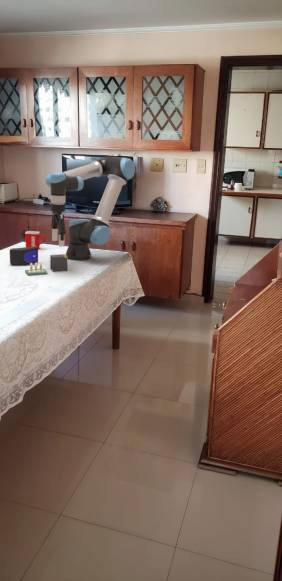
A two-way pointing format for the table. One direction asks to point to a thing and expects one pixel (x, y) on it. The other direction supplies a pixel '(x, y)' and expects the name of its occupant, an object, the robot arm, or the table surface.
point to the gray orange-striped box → (58, 263)
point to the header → (36, 270)
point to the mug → (33, 239)
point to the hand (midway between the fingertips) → (58, 243)
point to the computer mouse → (23, 256)
